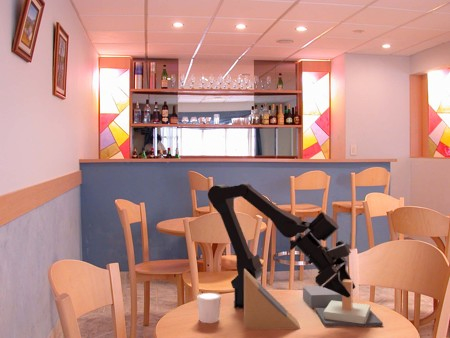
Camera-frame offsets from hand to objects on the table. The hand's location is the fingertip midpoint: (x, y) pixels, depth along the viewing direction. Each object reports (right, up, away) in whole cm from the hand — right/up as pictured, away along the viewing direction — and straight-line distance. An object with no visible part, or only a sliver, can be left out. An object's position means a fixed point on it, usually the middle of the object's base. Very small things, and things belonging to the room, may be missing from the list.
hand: (352, 292), depth 140 cm
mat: (-1, -8, +1) cm, 8 cm away
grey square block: (-5, -7, +16) cm, 18 cm away
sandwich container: (-23, -8, -3) cm, 25 cm away
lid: (-1, -7, +1) cm, 7 cm away
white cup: (-41, -8, 0) cm, 42 cm away
